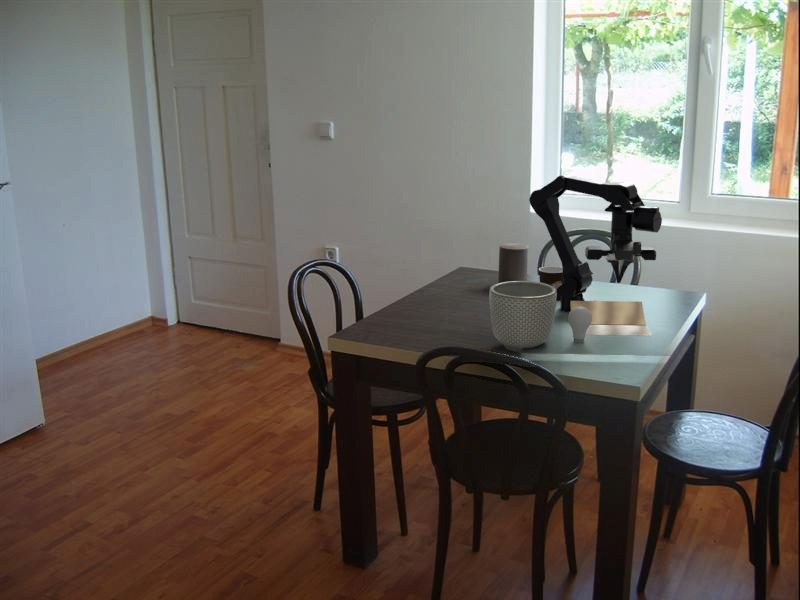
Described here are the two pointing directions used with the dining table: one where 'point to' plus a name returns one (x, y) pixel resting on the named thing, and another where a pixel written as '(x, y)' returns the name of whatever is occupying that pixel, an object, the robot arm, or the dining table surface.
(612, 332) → the board
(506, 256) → the pillar candle
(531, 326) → the planter
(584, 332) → the lightbulb
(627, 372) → the dining table surface
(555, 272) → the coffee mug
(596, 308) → the oak plank
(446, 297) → the dining table surface
